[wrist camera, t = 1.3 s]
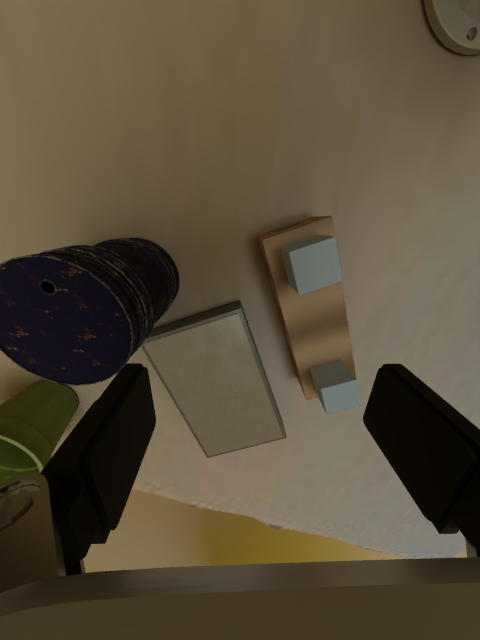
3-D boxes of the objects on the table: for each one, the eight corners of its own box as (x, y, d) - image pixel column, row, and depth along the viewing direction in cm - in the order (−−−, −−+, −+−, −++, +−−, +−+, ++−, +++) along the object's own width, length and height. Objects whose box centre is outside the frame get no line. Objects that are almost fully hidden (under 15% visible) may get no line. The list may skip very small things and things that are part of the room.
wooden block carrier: (257, 236, 28) (262, 240, 23) (313, 216, 27) (331, 216, 22) (296, 375, 36) (306, 400, 31) (339, 363, 35) (357, 386, 30)
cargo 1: (318, 234, 22) (335, 236, 19) (325, 272, 24) (342, 281, 20) (280, 247, 23) (288, 252, 19) (289, 284, 24) (298, 295, 21)
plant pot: (64, 434, 40) (4, 509, 29) (0, 391, 36) (-95, 461, 25) (111, 402, 37) (64, 473, 27) (48, 353, 33) (-37, 413, 23)
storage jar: (181, 315, 31) (142, 389, 18) (108, 312, 31) (8, 385, 17) (178, 238, 27) (123, 257, 14) (94, 233, 27) (-52, 247, 13)
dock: (240, 300, 31) (240, 308, 28) (283, 422, 40) (286, 438, 37) (146, 331, 32) (137, 341, 29) (208, 442, 41) (207, 458, 38)
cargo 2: (340, 359, 29) (356, 379, 25) (345, 383, 30) (360, 405, 26) (309, 368, 29) (320, 389, 25) (315, 391, 31) (326, 414, 27)
